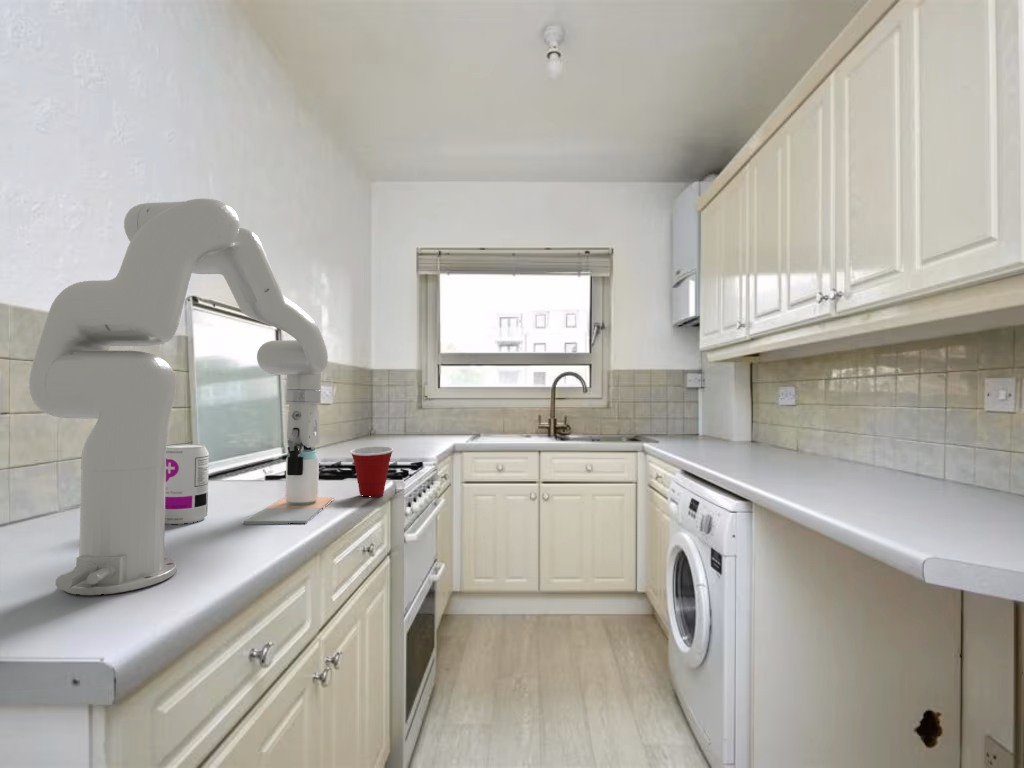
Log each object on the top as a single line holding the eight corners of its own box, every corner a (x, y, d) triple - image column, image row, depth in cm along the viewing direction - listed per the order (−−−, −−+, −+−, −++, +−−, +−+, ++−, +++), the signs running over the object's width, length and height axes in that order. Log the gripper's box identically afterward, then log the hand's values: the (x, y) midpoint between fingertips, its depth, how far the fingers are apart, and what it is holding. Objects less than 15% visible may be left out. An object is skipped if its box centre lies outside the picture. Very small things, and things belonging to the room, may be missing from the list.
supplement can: (169, 527, 102) (171, 449, 102) (153, 520, 107) (154, 446, 107) (214, 519, 108) (216, 446, 109) (196, 513, 113) (198, 443, 114)
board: (306, 523, 106) (306, 520, 106) (243, 524, 105) (243, 521, 105) (334, 499, 130) (334, 497, 130) (283, 500, 129) (283, 497, 129)
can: (317, 504, 121) (318, 451, 121) (283, 506, 119) (285, 452, 119) (318, 498, 128) (319, 448, 128) (286, 500, 125) (287, 449, 126)
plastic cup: (340, 497, 132) (340, 449, 132) (364, 490, 142) (365, 445, 143) (378, 501, 129) (379, 451, 129) (400, 493, 139) (401, 447, 139)
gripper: (309, 398, 115) (307, 477, 115) (329, 398, 133) (327, 467, 132) (273, 397, 115) (271, 477, 114) (297, 398, 132) (296, 467, 131)
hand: (301, 472), depth 123 cm, fingers open, 9 cm apart
